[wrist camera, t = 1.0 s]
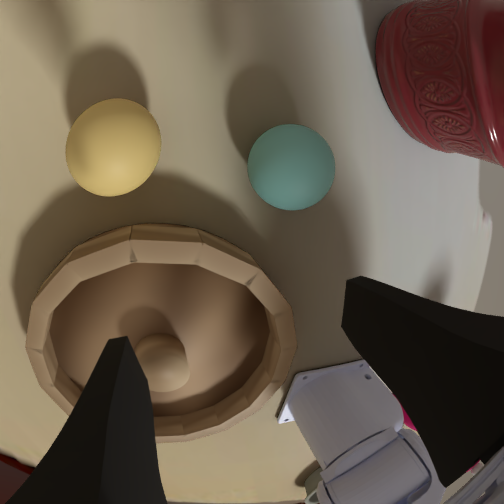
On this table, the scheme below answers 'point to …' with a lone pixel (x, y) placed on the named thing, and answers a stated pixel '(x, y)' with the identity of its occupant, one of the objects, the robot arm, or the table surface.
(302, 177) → the bead teal
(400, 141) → the table surface
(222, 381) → the groove tray
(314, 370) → the robot arm
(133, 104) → the bead ochre
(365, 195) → the table surface
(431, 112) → the canister
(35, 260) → the table surface
